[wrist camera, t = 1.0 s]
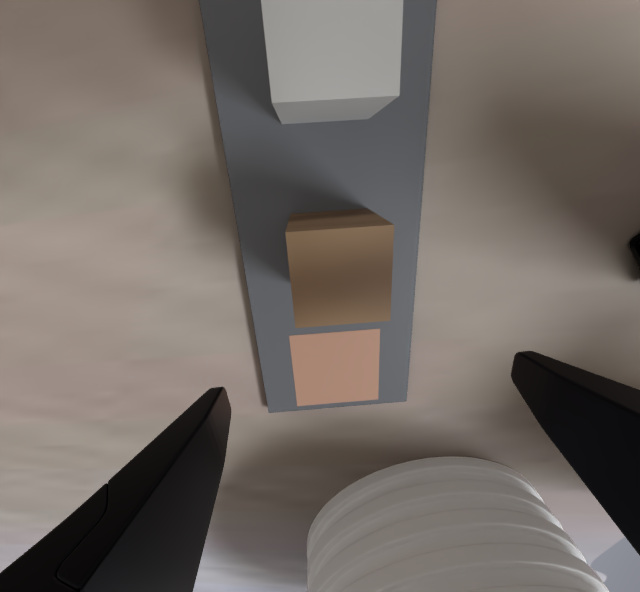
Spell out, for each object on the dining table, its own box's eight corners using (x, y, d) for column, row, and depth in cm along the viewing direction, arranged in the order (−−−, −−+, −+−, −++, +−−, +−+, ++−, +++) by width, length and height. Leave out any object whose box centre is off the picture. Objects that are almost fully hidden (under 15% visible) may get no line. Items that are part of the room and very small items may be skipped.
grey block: (271, 11, 15) (252, -81, 9) (368, 5, 15) (406, -88, 10) (281, 124, 17) (271, 102, 11) (368, 119, 17) (399, 95, 12)
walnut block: (290, 213, 19) (285, 232, 13) (367, 208, 19) (394, 224, 14) (297, 286, 21) (295, 327, 15) (367, 280, 21) (390, 320, 16)
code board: (198, -19, 15) (194, -26, 14) (434, -30, 15) (439, -38, 15) (269, 407, 26) (268, 413, 25) (404, 396, 26) (406, 401, 26)
